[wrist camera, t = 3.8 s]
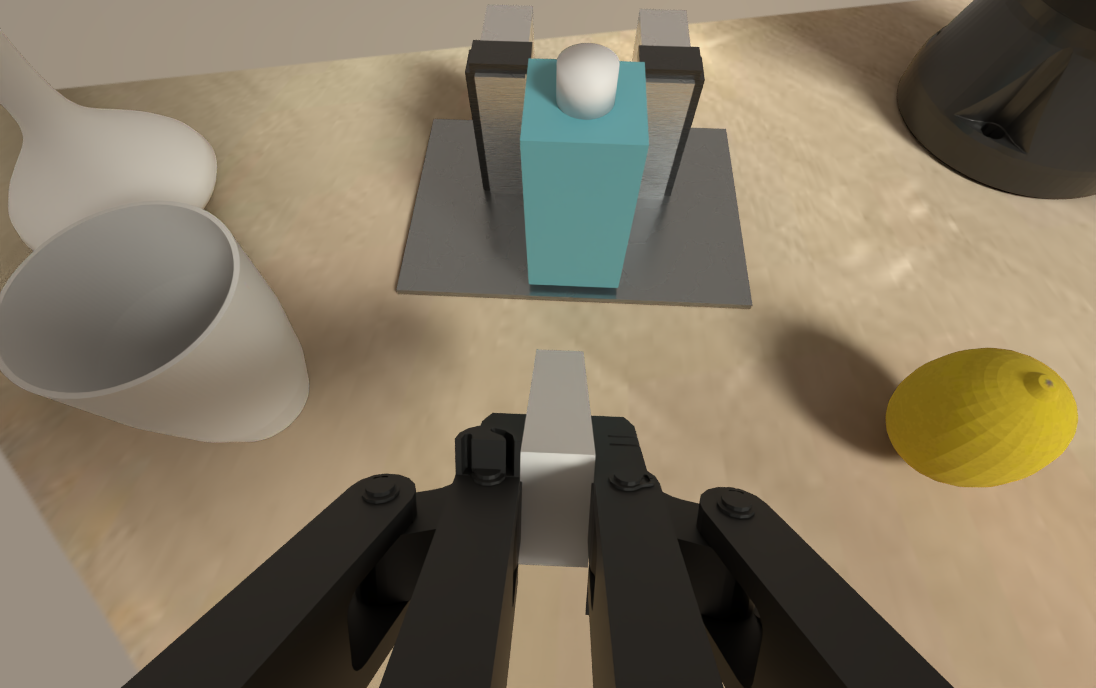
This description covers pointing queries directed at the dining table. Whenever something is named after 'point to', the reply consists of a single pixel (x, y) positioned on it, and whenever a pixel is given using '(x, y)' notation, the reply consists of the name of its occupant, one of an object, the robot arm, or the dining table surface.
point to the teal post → (582, 164)
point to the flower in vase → (92, 155)
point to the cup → (154, 326)
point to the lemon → (981, 417)
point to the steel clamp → (497, 190)
